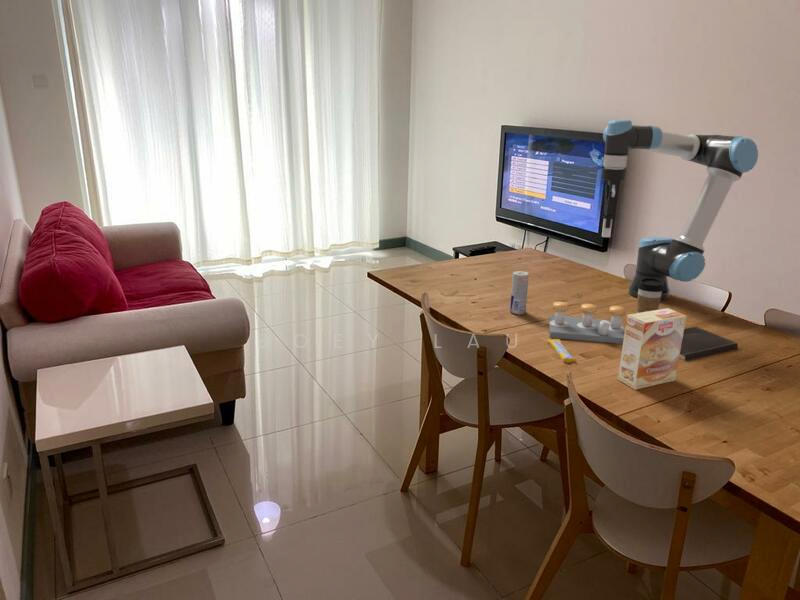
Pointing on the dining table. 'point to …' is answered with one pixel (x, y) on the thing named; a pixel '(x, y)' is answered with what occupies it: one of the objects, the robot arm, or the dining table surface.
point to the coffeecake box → (651, 348)
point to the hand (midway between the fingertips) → (605, 236)
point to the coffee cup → (649, 294)
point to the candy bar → (561, 350)
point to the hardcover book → (703, 344)
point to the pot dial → (604, 327)
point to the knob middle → (588, 314)
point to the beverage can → (519, 292)
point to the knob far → (560, 311)
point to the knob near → (616, 316)
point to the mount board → (584, 331)
